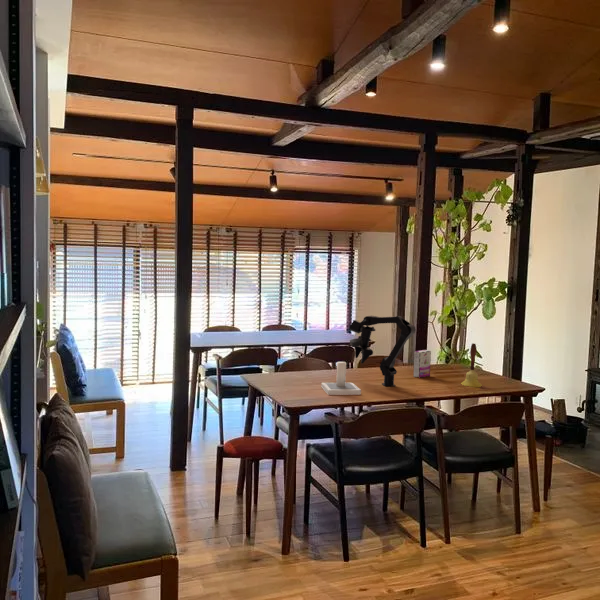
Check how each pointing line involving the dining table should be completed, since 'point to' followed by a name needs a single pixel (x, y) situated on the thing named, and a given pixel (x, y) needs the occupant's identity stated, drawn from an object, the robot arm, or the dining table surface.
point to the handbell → (472, 371)
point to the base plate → (341, 389)
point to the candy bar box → (422, 363)
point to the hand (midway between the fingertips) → (359, 360)
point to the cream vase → (341, 374)
